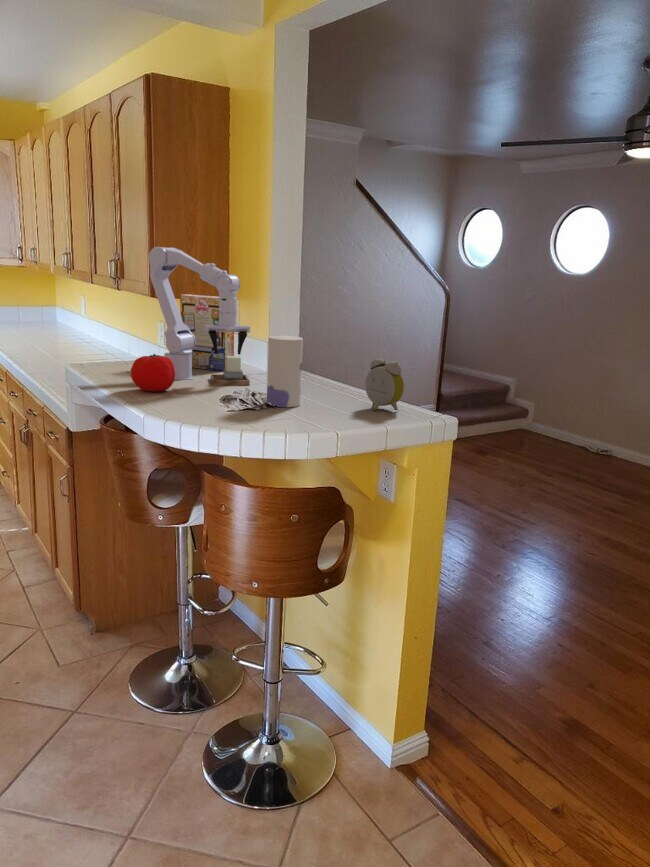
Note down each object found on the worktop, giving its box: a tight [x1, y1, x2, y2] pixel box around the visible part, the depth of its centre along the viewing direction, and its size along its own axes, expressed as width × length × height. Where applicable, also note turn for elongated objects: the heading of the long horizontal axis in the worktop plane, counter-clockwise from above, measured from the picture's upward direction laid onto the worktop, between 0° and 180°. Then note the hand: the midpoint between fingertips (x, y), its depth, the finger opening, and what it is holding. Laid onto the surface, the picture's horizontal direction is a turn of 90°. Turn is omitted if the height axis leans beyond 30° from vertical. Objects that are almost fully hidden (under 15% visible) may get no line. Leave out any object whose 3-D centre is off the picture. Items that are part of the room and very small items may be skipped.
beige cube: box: [226, 355, 242, 371], centre depth 225 cm, size 4×4×4 cm
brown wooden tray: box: [210, 373, 251, 387], centre depth 226 cm, size 12×11×2 cm
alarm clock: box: [364, 357, 405, 411], centre depth 196 cm, size 12×7×15 cm, turn 42°
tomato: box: [130, 353, 176, 392], centre depth 207 cm, size 12×13×12 cm
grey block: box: [222, 368, 244, 380], centre depth 226 cm, size 6×6×4 cm
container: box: [266, 334, 304, 408], centre depth 197 cm, size 10×10×20 cm
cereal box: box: [179, 293, 235, 372], centre depth 249 cm, size 20×6×27 cm, turn 65°
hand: (227, 353), depth 221 cm, fingers open, 7 cm apart
